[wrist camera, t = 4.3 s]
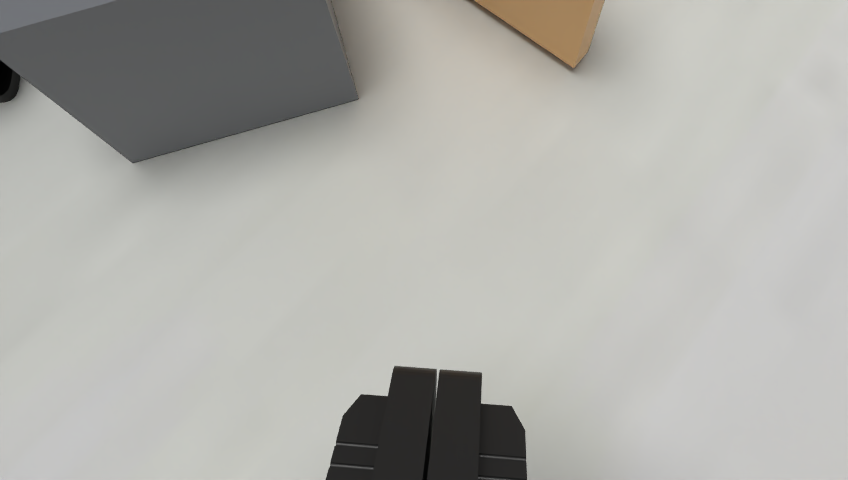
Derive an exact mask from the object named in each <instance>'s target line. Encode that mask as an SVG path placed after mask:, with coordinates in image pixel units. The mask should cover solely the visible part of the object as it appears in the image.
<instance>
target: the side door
mask: <svg viewBox="0 0 848 480" xmlns="http://www.w3.org/2000/svg"><path fill="white" fill-rule="evenodd" d="M474 1H476V2H477V3H479V4H480V5H482V6H483V7H484V8H486V9H487V10H489V11H490V12H492V13H493V14H495V15H496V16H498V17H499V18H501V19H502V20H504V21H505V22H507V23H508V24H509V25H511V26H512V27H514V28H515V29H517V30H518V31H520V32H521V33H523V34H524V35H526V36H527V37H529V38H530V39H531V40H533V41H534V42H536V43H537V44H539V45H540V46H542V47H543V48H545V49H546V50H548V51H549V52H551V53H552V54H554V55H555V56H556V57H558V58H559V59H561V60H562V61H564V62H565V63H567V64H568V65H570V66H571V67H573V68H574V67H575V66H576V65H577V64H578V63H579V61H580V60H581V59H582V58H583V57H584V55H585V54H586V53H587V52H588V50H589V47H590V44H591V41H592V38H593V35H594V32H595V28H596V25H597V22H598V19H599V16H600V13H601V10H602V7H603V4H604V1H605V0H474Z"/></svg>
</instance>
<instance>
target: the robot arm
mask: <svg viewBox="0 0 848 480" xmlns="http://www.w3.org/2000/svg"><path fill="white" fill-rule="evenodd" d="M436 384H437V369H429V368H415V367H402V366H395V367H394V369H393V373H392V378H391V383H390V388H389V393H388V396H376V395H363V394H361V395H360V396H359V397H358V399H357V400H356V401H355V402H354V403H353V405H352V406H351V407H350V408H349V409H348V410H347V412H346V413H345V414H344V415H343V418H342V421H341V425H340V429H339V432H338V436H337V440H336V446H335V447H334V451H333V455H332V458H331V464H330V468H329V470H328V473H327V477H326V480H527V469H526V442H525V429H524V428H523V426H522V424H521V422H520V420H519V419H518V417H517V415H516V413H515V411H514V410H513V408H512V406H503V405H490V404H481V385H482V373H480V372H467V371H453V370H440V372H439V380H438V388H437V397H436Z"/></svg>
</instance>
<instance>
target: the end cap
mask: <svg viewBox="0 0 848 480" xmlns="http://www.w3.org/2000/svg"><path fill="white" fill-rule="evenodd" d="M19 81H20V75H19V74H18V73H16V72H15V71H14V70H12V69H11V68H10V67H9V66H7V65H6V64H5V63H3V62H2V61H1V60H0V102H6V101H10V100H11V99H12V98H14V97H15V96H16V94H17V91H18V88H19Z"/></svg>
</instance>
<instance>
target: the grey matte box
mask: <svg viewBox="0 0 848 480" xmlns="http://www.w3.org/2000/svg"><path fill="white" fill-rule="evenodd" d="M0 60H1V61H2V62H3V63H5V64H6V65H7V66H9V67H10V68H11V69H12V70H14V71H15V72H16V73H18V74H19V75H20V76H21V77H23V78H24V79H25V80H27V81H28V82H29V83H30V84H32V85H33V86H34V87H36V88H37V89H38V90H39V91H41V92H42V93H43V94H45V95H46V96H47V97H48V98H50V99H51V100H52V101H54V102H55V103H56V104H57V105H59V106H60V107H61V108H63V109H64V110H65V111H66V112H68V113H69V114H70V115H72V116H73V117H74V118H75V119H77V120H78V121H79V122H81V123H82V124H83V125H84V126H86V127H87V128H88V129H90V130H91V131H92V132H93V133H95V134H96V135H97V136H99V137H100V138H101V139H102V140H104V141H105V142H106V143H108V144H109V145H110V146H111V147H113V148H114V149H115V150H117V151H118V152H119V153H120V154H122V155H123V156H124V157H126V158H127V159H128V160H129V161H131V162H132V163H134V162H137V161H141V160H145V159H148V158H152V157H155V156H159V155H162V154H166V153H169V152H173V151H176V150H180V149H184V148H187V147H191V146H194V145H198V144H201V143H205V142H208V141H212V140H215V139H219V138H223V137H226V136H230V135H233V134H237V133H240V132H244V131H247V130H251V129H254V128H258V127H261V126H265V125H269V124H272V123H276V122H279V121H283V120H286V119H290V118H293V117H297V116H300V115H304V114H308V113H311V112H315V111H318V110H322V109H325V108H329V107H332V106H336V105H339V104H343V103H347V102H350V101H354V100H357V99H358V95H357V92H356V88H355V85H354V81H353V77H352V74H351V70H350V67H349V63H348V59H347V56H346V52H345V49H344V45H343V42H342V38H341V34H340V31H339V27H338V24H337V20H336V16H335V13H334V9H333V6H332V2H331V0H0Z"/></svg>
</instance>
